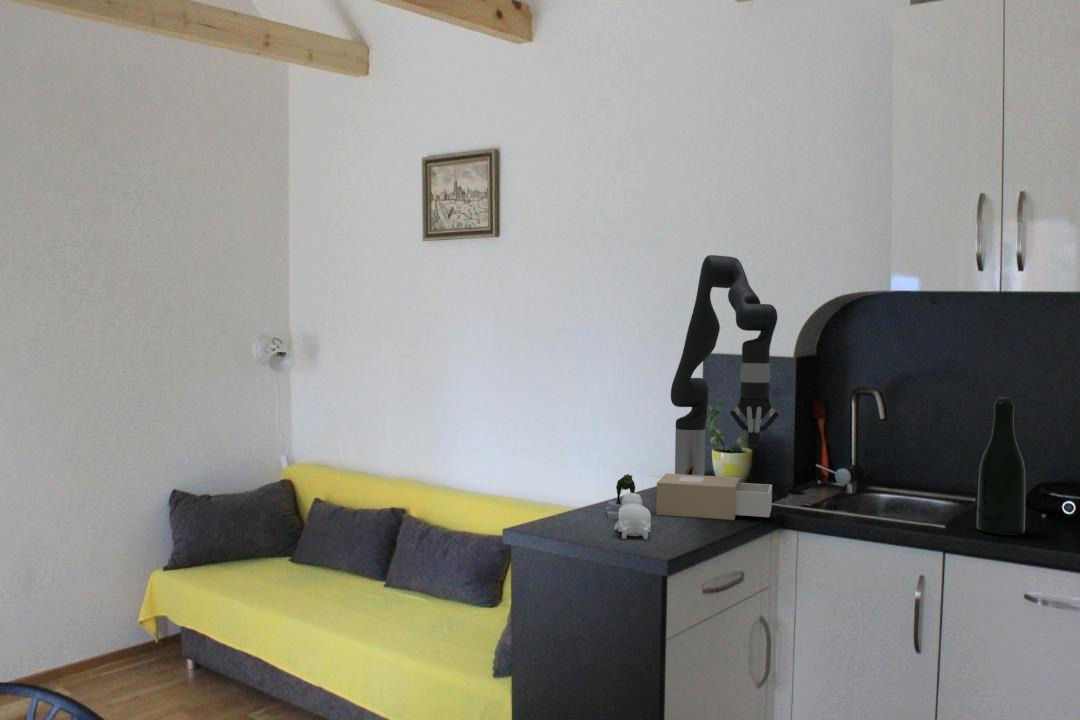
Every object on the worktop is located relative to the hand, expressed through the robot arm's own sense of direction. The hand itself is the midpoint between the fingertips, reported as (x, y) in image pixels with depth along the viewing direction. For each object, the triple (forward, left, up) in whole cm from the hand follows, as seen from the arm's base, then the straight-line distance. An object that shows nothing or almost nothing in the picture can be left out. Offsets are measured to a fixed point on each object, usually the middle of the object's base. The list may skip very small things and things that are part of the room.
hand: (753, 446), depth 239 cm
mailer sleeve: (0, -14, -18) cm, 23 cm away
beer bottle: (0, +59, -18) cm, 62 cm away
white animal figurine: (+31, -26, -18) cm, 45 cm away
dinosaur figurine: (+10, -32, -18) cm, 38 cm away
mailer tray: (0, -5, -17) cm, 18 cm away
